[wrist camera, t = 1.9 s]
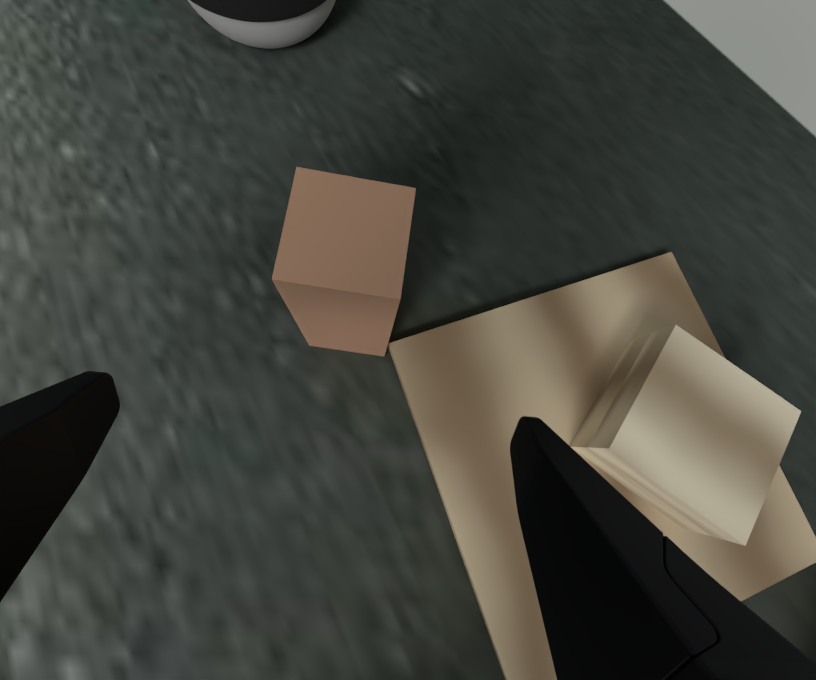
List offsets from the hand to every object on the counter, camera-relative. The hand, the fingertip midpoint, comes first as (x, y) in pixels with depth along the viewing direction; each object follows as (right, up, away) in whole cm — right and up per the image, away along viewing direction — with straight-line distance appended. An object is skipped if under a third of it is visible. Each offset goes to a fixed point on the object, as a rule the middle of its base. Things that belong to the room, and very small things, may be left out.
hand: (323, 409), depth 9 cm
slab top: (+15, -3, +11) cm, 19 cm away
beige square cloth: (+12, -4, +13) cm, 18 cm away
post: (-1, +3, +13) cm, 14 cm away
